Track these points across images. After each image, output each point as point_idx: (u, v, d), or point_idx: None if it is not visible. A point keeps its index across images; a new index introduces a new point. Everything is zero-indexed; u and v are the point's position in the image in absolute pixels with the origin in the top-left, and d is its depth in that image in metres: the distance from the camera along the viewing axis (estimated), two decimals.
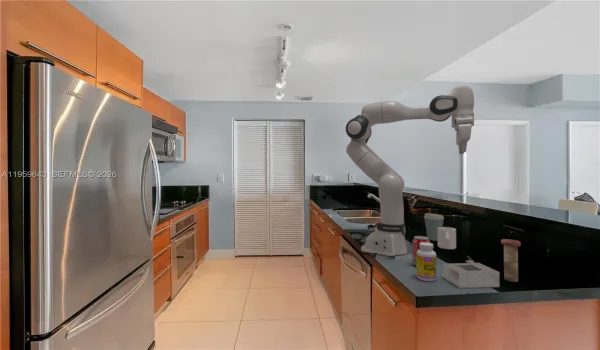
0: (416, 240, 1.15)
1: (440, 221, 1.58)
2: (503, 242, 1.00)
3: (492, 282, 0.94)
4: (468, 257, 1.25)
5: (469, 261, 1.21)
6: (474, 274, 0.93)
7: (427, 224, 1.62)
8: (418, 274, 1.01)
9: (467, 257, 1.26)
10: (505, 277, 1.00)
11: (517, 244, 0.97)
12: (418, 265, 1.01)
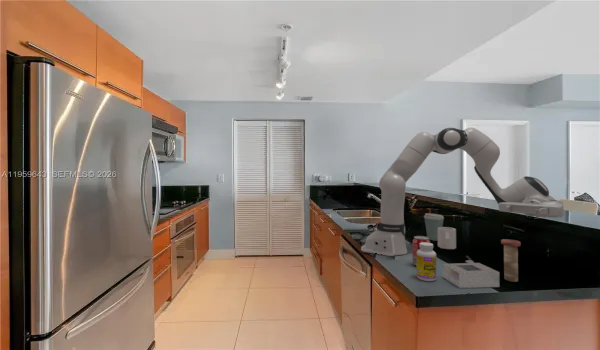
0: (416, 240, 1.15)
1: (440, 221, 1.58)
2: (503, 242, 1.00)
3: (492, 282, 0.94)
4: (468, 257, 1.25)
5: (469, 261, 1.21)
6: (474, 274, 0.93)
7: (427, 224, 1.62)
8: (418, 274, 1.01)
9: (467, 257, 1.26)
10: (505, 277, 1.00)
11: (517, 244, 0.97)
12: (418, 265, 1.01)
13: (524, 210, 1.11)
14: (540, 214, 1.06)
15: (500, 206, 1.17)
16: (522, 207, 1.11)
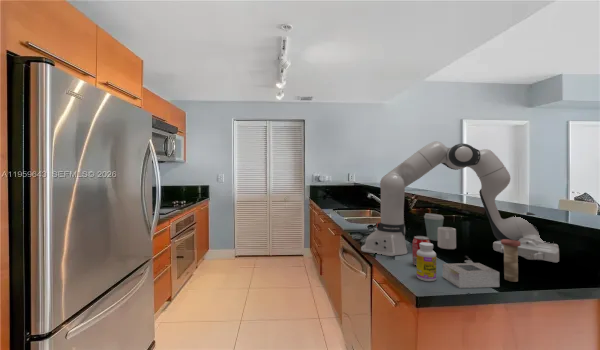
0: (416, 240, 1.15)
1: (440, 221, 1.58)
2: (503, 242, 1.00)
3: (492, 282, 0.94)
4: (467, 257, 1.26)
5: (468, 261, 1.21)
6: (474, 274, 0.93)
7: (427, 224, 1.62)
8: (418, 274, 1.01)
9: (466, 257, 1.26)
10: (505, 277, 1.00)
11: (517, 244, 0.97)
12: (418, 265, 1.01)
13: (519, 252, 1.08)
14: None
15: (495, 246, 1.14)
16: None
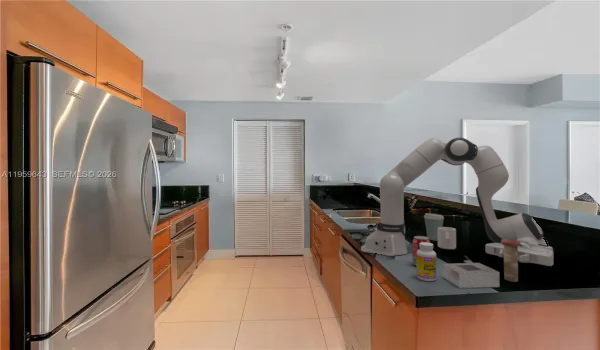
0: (416, 240, 1.15)
1: (440, 221, 1.58)
2: (503, 242, 1.00)
3: (492, 282, 0.94)
4: (466, 257, 1.26)
5: (467, 261, 1.21)
6: (474, 274, 0.93)
7: (427, 224, 1.62)
8: (418, 274, 1.01)
9: (465, 257, 1.26)
10: (505, 277, 1.00)
11: (517, 244, 0.97)
12: (418, 265, 1.01)
13: None
14: (528, 261, 0.99)
15: (487, 248, 1.10)
16: None
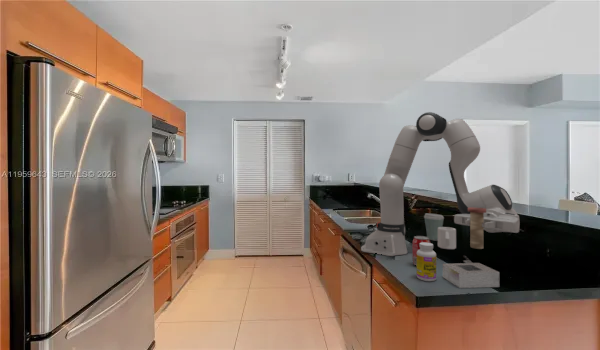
0: (416, 240, 1.15)
1: (440, 221, 1.58)
2: (469, 209, 0.99)
3: (492, 282, 0.94)
4: (465, 257, 1.26)
5: (467, 261, 1.21)
6: (474, 274, 0.93)
7: (427, 224, 1.62)
8: (418, 274, 1.01)
9: (464, 257, 1.26)
10: (471, 245, 0.99)
11: (482, 210, 0.96)
12: (418, 265, 1.01)
13: None
14: (494, 229, 0.98)
15: (455, 218, 1.09)
16: None
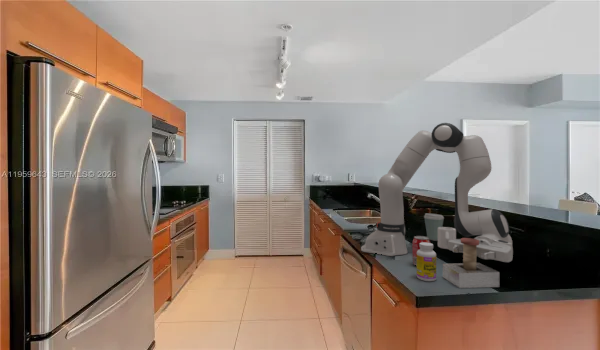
0: (416, 240, 1.15)
1: (440, 221, 1.58)
2: (462, 241, 0.98)
3: (492, 282, 0.94)
4: None
5: None
6: (474, 274, 0.93)
7: (427, 224, 1.62)
8: (418, 274, 1.01)
9: None
10: None
11: (475, 243, 0.95)
12: (418, 265, 1.01)
13: None
14: None
15: (449, 245, 1.08)
16: None
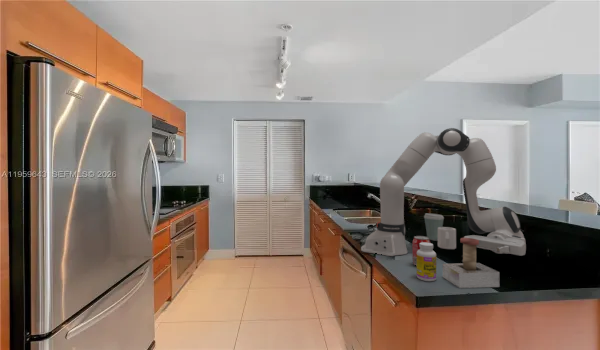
0: (416, 240, 1.15)
1: (440, 221, 1.58)
2: (462, 241, 0.98)
3: (492, 282, 0.94)
4: None
5: None
6: (474, 274, 0.93)
7: (427, 224, 1.62)
8: (418, 274, 1.01)
9: (462, 257, 1.27)
10: None
11: (475, 243, 0.96)
12: (418, 265, 1.01)
13: (487, 246, 1.09)
14: None
15: None
16: (485, 243, 1.09)
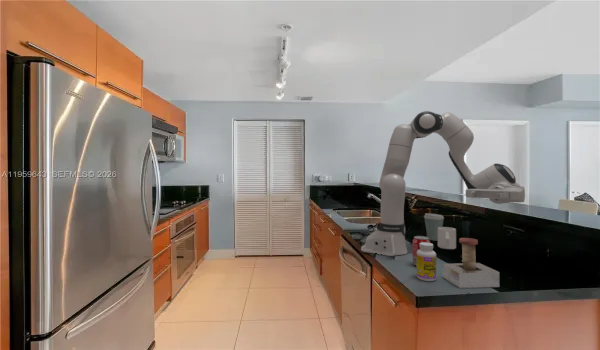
0: (416, 240, 1.15)
1: (440, 221, 1.58)
2: (461, 241, 0.98)
3: (492, 282, 0.94)
4: None
5: None
6: (474, 274, 0.93)
7: (427, 224, 1.62)
8: (418, 274, 1.01)
9: (461, 257, 1.27)
10: None
11: (474, 243, 0.96)
12: (418, 265, 1.01)
13: (488, 195, 1.15)
14: (502, 199, 1.10)
15: (467, 192, 1.21)
16: (486, 192, 1.15)
